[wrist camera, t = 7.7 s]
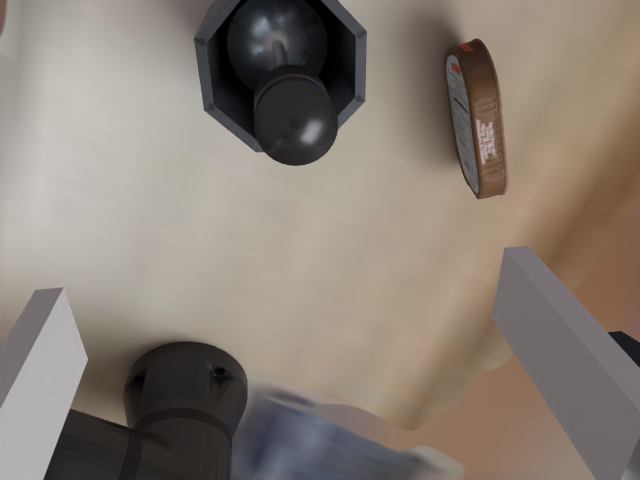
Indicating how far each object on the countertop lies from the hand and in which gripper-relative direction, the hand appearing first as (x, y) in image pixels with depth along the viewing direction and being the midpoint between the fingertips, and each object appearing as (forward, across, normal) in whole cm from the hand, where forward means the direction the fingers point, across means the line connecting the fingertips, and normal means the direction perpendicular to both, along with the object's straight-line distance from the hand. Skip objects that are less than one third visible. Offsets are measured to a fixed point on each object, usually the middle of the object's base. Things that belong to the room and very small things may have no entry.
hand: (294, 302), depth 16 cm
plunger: (+32, -1, -2) cm, 32 cm away
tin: (+37, -19, +6) cm, 42 cm away
